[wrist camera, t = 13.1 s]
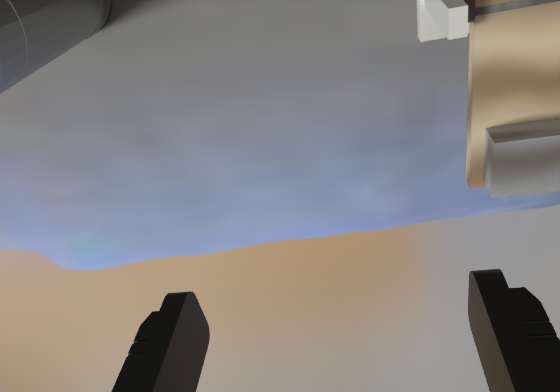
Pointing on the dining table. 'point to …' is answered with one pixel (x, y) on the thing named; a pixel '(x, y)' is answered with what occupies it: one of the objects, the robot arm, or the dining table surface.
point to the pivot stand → (442, 19)
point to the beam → (514, 96)
